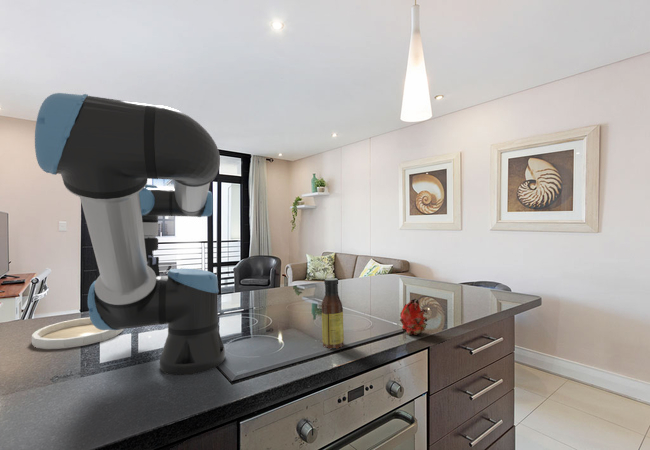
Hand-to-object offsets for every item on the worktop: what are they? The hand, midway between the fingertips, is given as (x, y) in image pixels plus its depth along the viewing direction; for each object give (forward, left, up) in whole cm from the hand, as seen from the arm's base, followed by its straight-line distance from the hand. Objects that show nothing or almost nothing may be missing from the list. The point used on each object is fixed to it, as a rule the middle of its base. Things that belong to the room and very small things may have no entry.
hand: (143, 313), depth 92 cm
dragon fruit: (-60, -56, -9) cm, 83 cm away
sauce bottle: (-45, -33, -9) cm, 56 cm away
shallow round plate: (+23, +9, -9) cm, 27 cm away
